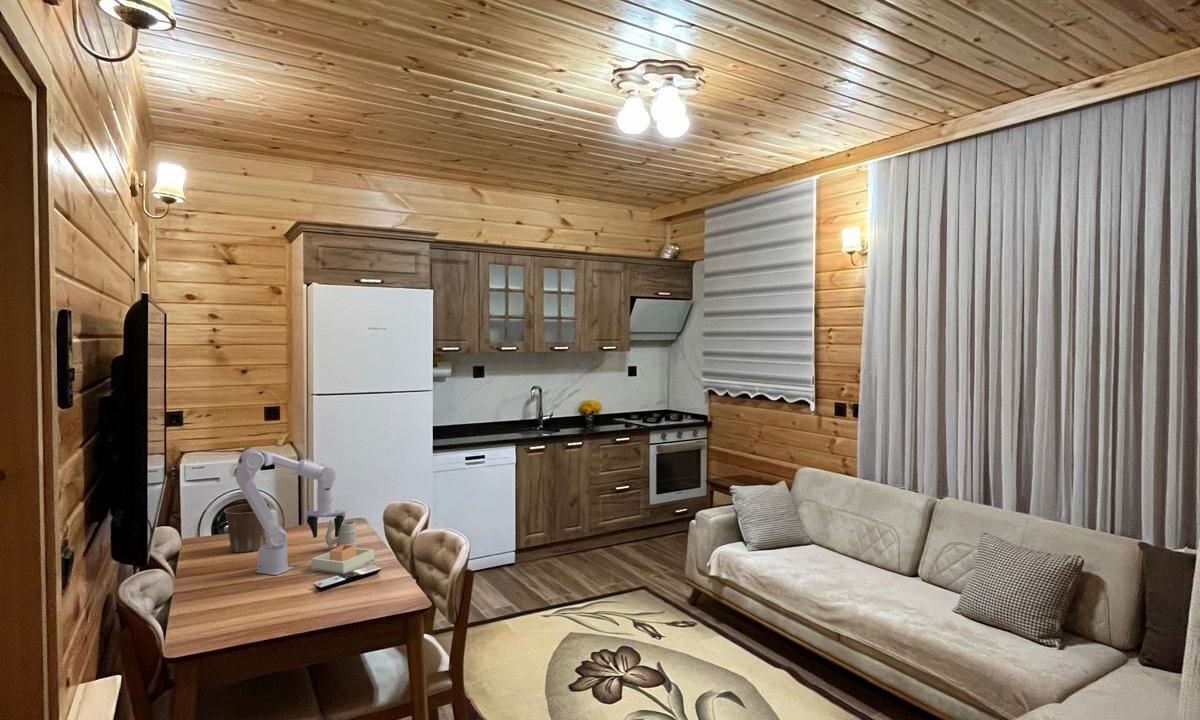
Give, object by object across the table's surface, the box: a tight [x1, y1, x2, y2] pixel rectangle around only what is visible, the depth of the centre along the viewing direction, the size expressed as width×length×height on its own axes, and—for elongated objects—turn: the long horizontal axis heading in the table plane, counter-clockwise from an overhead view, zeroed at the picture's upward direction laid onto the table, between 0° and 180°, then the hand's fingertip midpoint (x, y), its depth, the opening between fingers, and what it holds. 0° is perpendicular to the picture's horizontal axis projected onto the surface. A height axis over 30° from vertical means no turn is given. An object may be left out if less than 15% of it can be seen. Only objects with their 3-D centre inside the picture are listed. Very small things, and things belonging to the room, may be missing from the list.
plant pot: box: [223, 503, 271, 553], centre depth 264 cm, size 16×16×16 cm
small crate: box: [329, 545, 357, 562], centre depth 243 cm, size 5×8×6 cm, turn 165°
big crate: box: [310, 547, 375, 575], centre depth 243 cm, size 14×16×4 cm
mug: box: [325, 519, 358, 549], centre depth 263 cm, size 8×12×12 cm, turn 125°
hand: (326, 536), depth 247 cm, fingers open, 7 cm apart
